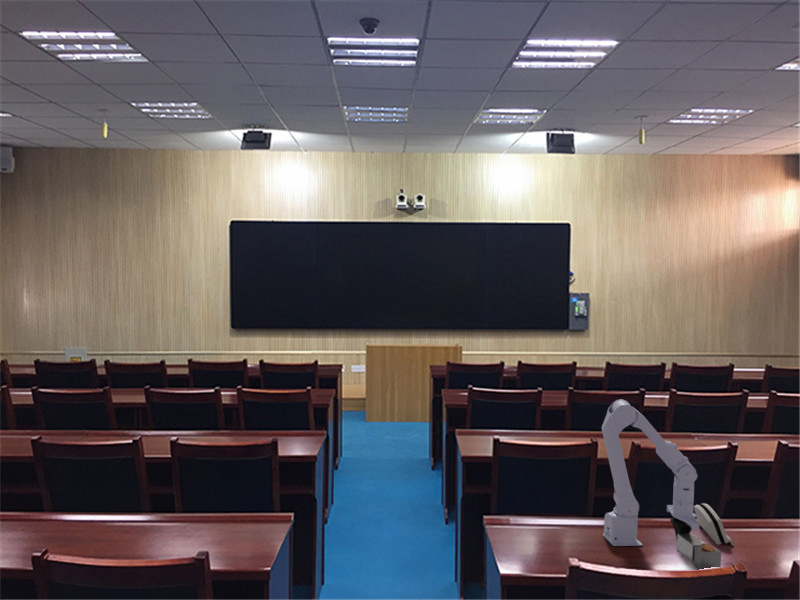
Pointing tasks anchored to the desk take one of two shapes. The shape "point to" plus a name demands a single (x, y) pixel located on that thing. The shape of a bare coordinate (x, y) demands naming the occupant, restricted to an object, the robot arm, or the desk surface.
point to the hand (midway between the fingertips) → (681, 543)
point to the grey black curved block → (711, 523)
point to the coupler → (707, 556)
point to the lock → (688, 545)
